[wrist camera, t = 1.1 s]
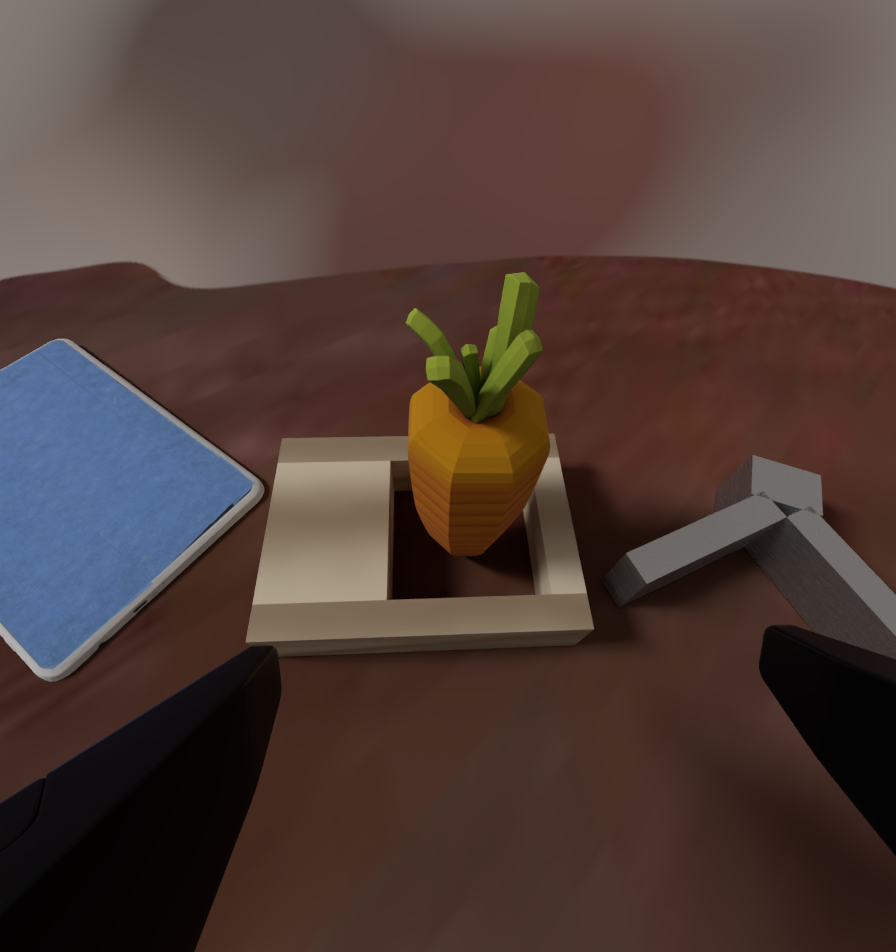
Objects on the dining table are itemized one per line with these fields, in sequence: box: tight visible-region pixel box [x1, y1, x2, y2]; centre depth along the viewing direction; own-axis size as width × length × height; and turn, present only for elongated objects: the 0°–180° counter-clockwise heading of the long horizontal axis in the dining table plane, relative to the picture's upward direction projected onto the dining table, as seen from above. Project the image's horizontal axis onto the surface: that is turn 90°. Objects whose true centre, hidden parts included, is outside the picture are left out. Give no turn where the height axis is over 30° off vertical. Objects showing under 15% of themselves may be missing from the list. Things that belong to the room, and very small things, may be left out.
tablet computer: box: [0, 339, 264, 682], centre depth 25 cm, size 19×13×1 cm, turn 54°
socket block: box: [246, 434, 594, 657], centre depth 23 cm, size 10×14×3 cm
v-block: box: [601, 455, 896, 659], centre depth 22 cm, size 9×13×4 cm, turn 69°
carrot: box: [406, 272, 550, 556], centre depth 18 cm, size 5×5×15 cm
